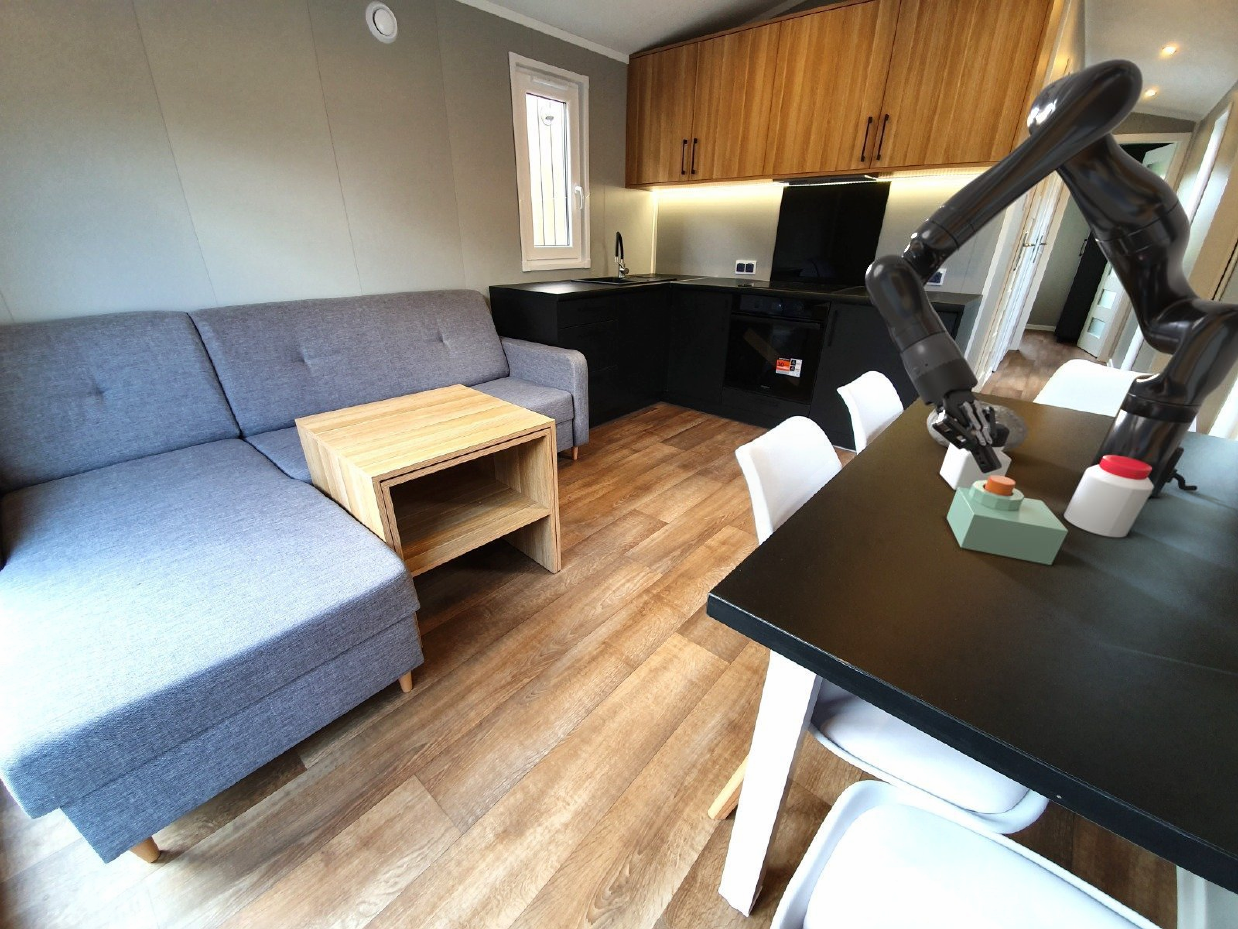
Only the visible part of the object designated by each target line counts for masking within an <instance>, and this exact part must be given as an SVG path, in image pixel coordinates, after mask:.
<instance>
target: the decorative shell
mask: <svg viewBox="0 0 1238 929" xmlns="http://www.w3.org/2000/svg"><path fill="white" fill-rule="evenodd" d="M979 402H980V405H981V406H982V407H983V408H985V409H986V408H988V407H990V406H991V407H993V408H994V410H995V419H996V422H997V423H1000V424H1002V425H1004V426H1006V427H1007V428H1008V429H1009V431H1010V433H1009V435H1008V438H1007V440H1006V443H1005V445H1004V448H1003V450H1001V451H1002V452H1003V453H1004V454H1005V453H1007V452H1009V451H1014V450H1015V449H1017V448H1019V447H1020V446H1022V445H1023V443H1024V442H1025V441H1026V439H1027V438H1028V430H1029V427H1028V426H1027V424H1026V423H1025V417H1023V416H1020V415H1018V414H1017V412H1016V411H1015V410H1012V409H1010V408H1009V407H1006V406H1004V405H998V404H993V403H990V402H986V401H982V400H979ZM938 418H939V416H938V415H937V413H936V410H935V408H934V409H933V410H932V411H931V412H930V414H929V415H928V416H927V419H926V427H927V431H928V432H929V434H930V436H931V437H932V438H933V439H934V441H936V442H937V443H938V444H939V445H941V446H944V447H946V448H949V445H950V442H949V441H948V440H947V439H946V438H944V437H943V436H942V435H941V434H940V433H938V432H937V431H936V430H935V429H934V428H933V427H932V423H933V422H936V421H938Z"/></svg>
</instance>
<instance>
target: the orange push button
mask: <svg viewBox="0 0 1238 929" xmlns="http://www.w3.org/2000/svg"><path fill="white" fill-rule="evenodd" d="M1015 486H1016V481H1015V480H1014V479H1012V478H1010V477H1008V476H1007V477H1006V476H1005V477H1004V476H999V475H991V476H989V478H988V481H987V483H986V486H985V490H987V491H989V492H991V493H994V494H997V495H1002V496H1010V495H1011V493H1012V491H1013V489H1014V488H1015Z"/></svg>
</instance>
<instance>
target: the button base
mask: <svg viewBox="0 0 1238 929" xmlns="http://www.w3.org/2000/svg"><path fill="white" fill-rule="evenodd" d="M986 483H987V480H982V481H976V482H974V483H973V485H972V487H971V489H968V488H962V487H958V489H957V490H955V491H956V492H955V495H954V496H953V500H952V502H951V505H950V507H949V510H948V513H947V516H946V520H947V521H948V523H949V526H950V527H951V530H952V532H953V534H954V537H955V538H956V540H957V542H958V545H959V547H960V548H962V549H967V550H972V551H977V552H983V553H988V554H992V555H993V554H994V555H997V556H1003V557H1008V558H1012V559H1013V558H1014V559H1018V560H1023V561H1029V562H1033V563H1038V564H1044V565H1049V566H1051V565H1052V564H1053V562H1054V560H1055V558H1056V556H1057V554H1058V552H1059V550H1060V548H1061V546H1062V544H1063V542H1064V540H1065V538H1066V536H1067V534H1068V532H1069V530H1068V528H1066V527H1065V526H1064V524H1063V523H1062V522H1061V521H1060V520H1059V519H1058V517H1056V515H1055V514H1054V513H1053V512H1052V510H1050V508H1049V507H1048V506H1047V505H1046V503H1045V502H1044V501H1042V500H1040V499H1035V498H1034V499H1033V498H1029V497H1028V498H1027V497H1025V495H1024V494H1023V492H1022V491H1020V490H1019V489H1017V488H1015V487H1014V489H1013V491H1012V493H1011V495H1010V496H1002V495H997V494H994V493H991V492H989V491H987V490H985V486H986Z"/></svg>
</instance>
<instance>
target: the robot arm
mask: <svg viewBox="0 0 1238 929" xmlns="http://www.w3.org/2000/svg"><path fill="white" fill-rule="evenodd" d="M1143 84H1144V79H1143V72H1142V70H1141V68H1140V67H1139V66H1138V65H1137V63H1135V62H1133V61H1131V60H1128V59H1125V58H1114V59H1108V60H1105V61H1099V62H1097V63H1094V64H1092V65H1089V66H1086V67H1084V68H1081V69H1079V70H1076V71H1074V72H1071V73H1069V74H1067V75H1064V76H1062V77H1059V78H1058V79H1056V80H1054V81H1052V82H1050V83H1049V84H1048V85H1046V86H1045V87H1044V88H1043V89H1041V91H1040V92H1038V94H1036V97H1035V98H1034V100H1033V102H1032V104H1031V105H1030V107H1029V111H1028V115H1027V131H1028V133H1029V137H1027V138H1026V139H1025V140H1024V141H1022V143H1021V144H1019V145H1018V146H1017V147H1016V148H1014V149H1013V150H1012V151H1011V152H1010V153H1008V154H1007V155H1006V156H1004V157H1003V158H1002V159H1001V160H999V161H998V162H997V163H995V164H994V165H992V166H991V167H990V168H988V169H986V170H985V171H984V172H982V173H980V175H978V176H976V177H975V178H973V179H972V180H971V181H970V182H968V183H967V184H966V185H964V186H963V187H962V188H960V189H959V190H958V191H957V192H955V194H953V195H952V196H951V197H950V198H948V200H946V201H945V202H944V203H943V204H942V205H940V207H939V208H938V209H937V210H935V211H934V212H933V213H932V214H931V215H930V216H929V217H928V218H927V219H926V220H925V221H924V222H922V224H921V225H920V226H919V227H918V228H917V229H916V230H915V231H914V232H913V234H912V236H911V238H910V241H909V244H908V245H907V247H906V248H905V249H904V250H903V252H902V253H901V254H897V253H888V254H884V255H882V256H880V257H878V258H876V259H875V260H874V261H873V262H872V263H871V264H870V265H869V267H868V268H867V270H866V273H865V277H864V287H865V290H866V292H867V296H868V299H869V301H870V304H872V306H874V307H875V308H877V309H878V311H879V313H880V314H881V316H882V317H883V319H884V322H885V323H886V326H887V330H888V333H889V336H890V338H891V340H892V343H893V344H894V346H895V348H896V350H897V352H898V354H899V356H900V358H901V360H902V363H903V366H904V369H905V370H906V373H907V375H908V377H909V379H910V381H911V382H912V384H913V386H914V388H915V390H916V391H917V393H918V396H919V397H920V399H921V401H922V402H923V404H924V406H927V407H932V406H934V409H935V410H936V413H937V415H938V416H939V418H938V421H936V422H933V423H932V427H933V428H934V429H935V430H936V431H937V432H938V433H940V434H941V435H942V436H943V437H944V438H946V439H947V440H948V441H949V442H950V443H952V444H953V445H954V446H955V447H956V448H958V449H959V450H961V449H963V448H964V449H966V451H968V452H971V453H972V455H973V457H974V459H975V461H976V463H977V465H978V466H979V468H980V470H981V472H982V473H989V472H992V471H994V470H997V469H1000V468H1001V467H1002V464H1001V463H1000V461H999V459H998V457H997V455H996V454H995V452H994V450H993V448H992V446H991V444H992V439H995V438H997V432H996V419H995V410H994V408H993V407H991V406H990V407H988V408H986V409H985V408H983V407H982V406H981V405H980V402H979V401H980V400H979V398H978V397H977V396H975V394H974V393H973V392H972V391H973V389H974V388H975V387H976V386H978V383H979V380H978V379H977V376H976V375H975V373H974V371H973V370H972V368H971V366H970V364H969V362H968V361H967V360H966V358H965V356H964V354H963V352H962V350H961V349H960V347H959V345H958V343H957V342H956V341H955V340H954V339H953V337H952V336H951V335H950V333H949V332H948V330H947V329H946V326H945V325H944V323H943V321H942V319H941V317H940V315H938V312H936V310H935V309H934V307H933V305H932V304H931V302H930V299H929V297H928V294H927V291H926V290H925V286H926V285H927V284H928V283H929V282H930V281H931V280H932V279H933V278H934V276H935V275H936V274H937V273H938V271H940V269H941V268H942V267H943V266H944V265H945V264H946V262H947V261H949V260H950V259H952V257H953V256H955V255H956V254H957V253H958V252H959V251H960V250H962V249H963V248H964V247H965V246H966V245H967V244H968V243H970V241H972V240H973V239H974V238H975V237H976V236H977V235H978V234H980V233H981V231H983V230H984V229H985V228H987V226H989V224H990V223H992V222H993V221H994V220H995V219H997V217H998V216H1000V215H1001V214H1002V213H1003V212H1005V211H1006V210H1007V209H1008V208H1009V207H1010V206H1012V205H1013V204H1014V203H1015V202H1017V201H1018V200H1019V199H1020V198H1022V197H1023V196H1024V195H1026V193H1028V192H1029V191H1030V190H1032V189H1033V188H1034V187H1035V186H1037V185H1038V184H1039V183H1041V182H1042V181H1043V180H1045V179H1046V178H1047V177H1049V176H1050V175H1051V174H1053V173H1054V172H1056V173H1057V175H1058V176H1059V178H1060V179H1061V180H1062V181H1063V183H1064V185H1065V186H1066V188H1067V189H1068V191H1069V193H1070V195H1071V197H1072V198H1073V201H1074V203H1075V204H1076V206H1077V208H1078V209H1079V212H1080V214H1082V216H1083V218H1084V220H1085V222H1086V223H1087V225H1088V227H1089V229H1090V231H1091V233H1092V235H1093V238H1094V239H1095V242H1096V243H1097V245H1098V246H1099V248H1100V251H1101V252H1102V254H1103V255H1104V257H1105V259H1106V260H1107V261H1108V263H1109V265H1110V266H1111V268H1112V270H1113V272H1114V274H1115V275H1116V277H1117V279H1118V281H1119V283H1120V286H1122V288H1123V290H1124V291H1125V294H1126V295H1127V297H1128V299H1129V301H1130V304H1131V307H1132V309H1133V312H1134V315H1135V318H1136V321H1137V324H1138V326H1139V330H1140V333H1141V335H1142V337H1143V339H1144V341H1145V343H1146V344H1147V345H1148V346H1149V347H1150V349H1152V350H1153V351H1155V352H1158V353H1160V354H1163V355H1166V356H1170V357H1171V358H1170V360H1169V361H1168V363H1166V366H1165V367H1164V368H1163V369H1162V370H1160V371H1159V372H1156V373H1153V374H1142V375H1138V376H1137V377H1135V378H1134V379H1133V380H1132V382H1131V383H1130V386H1129V388H1128V389H1127V392H1126V393H1125V396H1124V398H1123V400H1122V401H1121V403H1120V405H1119V408H1118V410H1117V411H1116V414H1115V416H1114V418H1113V420H1112V422H1111V424H1110V426H1109V428H1108V430H1107V432H1106V433H1105V436H1104V438H1103V440H1102V442H1101V444H1100V446H1099V448H1098V450H1097V452H1096V454H1095V456H1094V458H1093V460H1092V461H1091V464H1090V466H1089V467H1092V466H1095V465H1099V464H1100V462H1101V460H1102V458H1103V456H1105V455H1116V456H1123V457H1127V458H1132V459H1135V460H1138V461H1141V462H1144V463H1146V464H1148V465H1150V466H1151V467H1152V470H1151V472H1150V474H1149V475H1148V478H1149V479H1150V481H1151V482H1152V484H1153V485H1154V487H1153V490H1152V492H1151V493H1150V495H1149V497H1151V498H1153V497H1154V498H1158V497H1159V495H1160V494H1161V492H1162V490H1163V489H1164V487H1165V485H1166V484H1171V483H1172V481H1173V480H1174V479H1175V480H1176V481H1177V487H1178V489H1180V490H1181V491H1185V492H1187V491H1189V492H1190V491H1192V492H1193V491H1194V492H1195V491H1197V490H1198V486H1197V485H1192V484H1191V485H1186V484H1187V483H1186V479H1185V477H1184V476H1183V475H1181V474H1180V473H1178V469H1176V466H1177V464H1178V463H1179V461H1180V459H1181V458H1182V455H1183V454H1184V452H1185V448H1184V447H1183V446H1181V444H1182V442H1183V440H1184V438H1185V437H1186V435H1187V434H1188V432H1189V430H1190V428H1191V427H1192V424H1193V423H1194V421H1195V419H1196V418H1197V416H1198V414H1199V413H1200V410H1201V409H1202V408H1203V405H1204V403H1205V402H1206V400H1207V398H1208V397H1210V395H1211V394H1214V392H1216V391H1217V389H1218V388H1220V386H1221V385H1222V384H1224V381H1225V380H1226V379H1227V377H1228V376H1229V374H1230V372H1231V371H1232V370H1233V368H1234V367H1235V365H1236V364H1237V362H1238V303H1236V302H1230V301H1221V300H1214V299H1213V300H1212V299H1204V298H1202V297H1200V296H1199V295H1198V294H1197V293H1196V291H1195V290H1194V289H1193V287H1192V286H1191V284H1190V283H1189V280H1188V279H1187V276H1186V275H1185V272H1184V270H1183V269H1184V268H1183V262H1184V258H1185V255H1186V252H1187V249H1188V245H1189V242H1190V239H1191V223H1190V220H1189V217H1188V214H1187V213H1186V211H1185V208H1184V207H1183V205H1182V203H1181V201H1180V199H1179V197H1178V195H1177V193H1176V191H1175V190H1174V189H1173V188H1172V186H1171V185H1170V184H1169V183H1168V182H1167V181H1166V180H1165V179H1163V178H1162V177H1161V176H1160V175H1158V174H1157V173H1156V172H1155V171H1153V170H1152V169H1150V168H1148V167H1147V166H1145V165H1144V164H1143V163H1142V162H1140V161H1138V160H1136V159H1135V158H1134V157H1132V156H1131V155H1130V154H1128V153H1127V152H1126V151H1125V150H1124V149H1123V148H1122V147H1121V146H1120V144H1119V143H1118V142H1117V140H1116V138H1115V136H1114V135H1113V133H1112V131H1113V130H1115V129H1116V128H1117V127H1118V126H1120V125H1121V124H1122V122H1124V121H1125V119H1127V117H1128V116H1129V115H1130V114H1131V113H1132V111H1133V110H1134V108H1135V107H1136V106H1137V104H1138V102H1139V99H1140V97H1141V94H1142V91H1143V88H1144V87H1143ZM968 428H969V429H968ZM987 430H988V431H987ZM1149 497H1148V498H1149Z"/></svg>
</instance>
